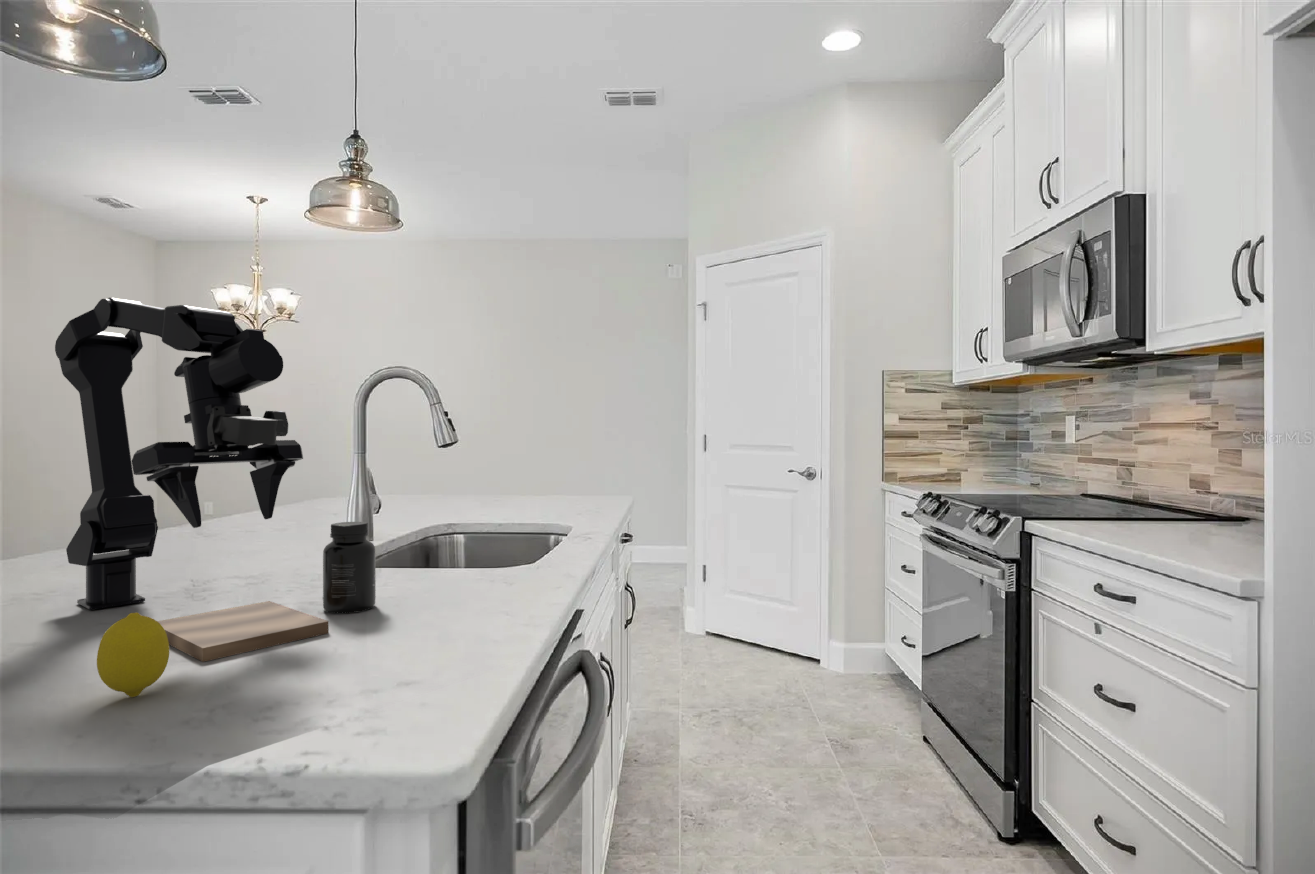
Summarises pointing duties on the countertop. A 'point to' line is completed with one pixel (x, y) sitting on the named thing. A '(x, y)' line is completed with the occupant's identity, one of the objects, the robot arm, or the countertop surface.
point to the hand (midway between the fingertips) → (234, 522)
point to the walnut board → (240, 629)
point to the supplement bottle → (349, 569)
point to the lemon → (133, 654)
